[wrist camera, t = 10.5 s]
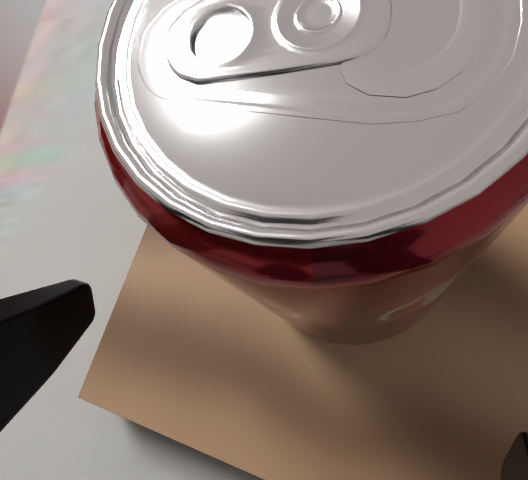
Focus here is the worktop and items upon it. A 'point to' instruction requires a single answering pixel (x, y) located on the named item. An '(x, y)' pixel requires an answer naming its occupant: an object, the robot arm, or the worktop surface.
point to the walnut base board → (321, 374)
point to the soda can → (321, 145)
